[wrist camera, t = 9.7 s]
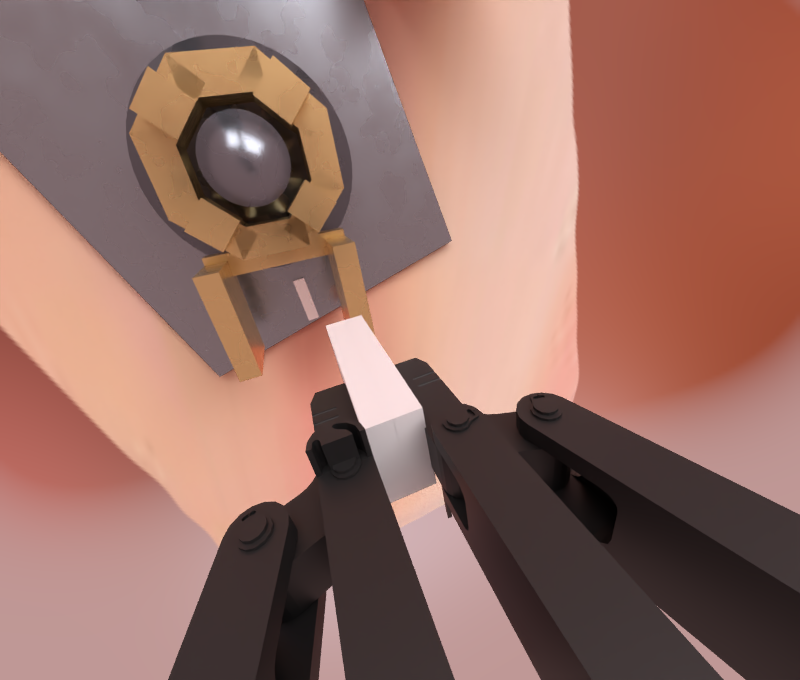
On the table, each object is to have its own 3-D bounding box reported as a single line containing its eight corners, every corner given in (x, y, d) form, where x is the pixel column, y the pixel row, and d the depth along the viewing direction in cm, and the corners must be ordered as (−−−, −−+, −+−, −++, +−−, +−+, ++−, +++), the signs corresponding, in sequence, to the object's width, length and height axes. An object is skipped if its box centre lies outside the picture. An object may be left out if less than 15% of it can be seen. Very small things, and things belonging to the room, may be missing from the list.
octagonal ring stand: (115, 73, 18) (65, 37, 14) (309, 56, 21) (316, 20, 17) (239, 353, 27) (232, 384, 23) (367, 318, 29) (382, 339, 25)
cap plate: (-96, 44, 18) (-372, -66, 11) (307, -138, 21) (325, -340, 13) (221, 372, 31) (202, 431, 24) (448, 239, 33) (499, 253, 26)
